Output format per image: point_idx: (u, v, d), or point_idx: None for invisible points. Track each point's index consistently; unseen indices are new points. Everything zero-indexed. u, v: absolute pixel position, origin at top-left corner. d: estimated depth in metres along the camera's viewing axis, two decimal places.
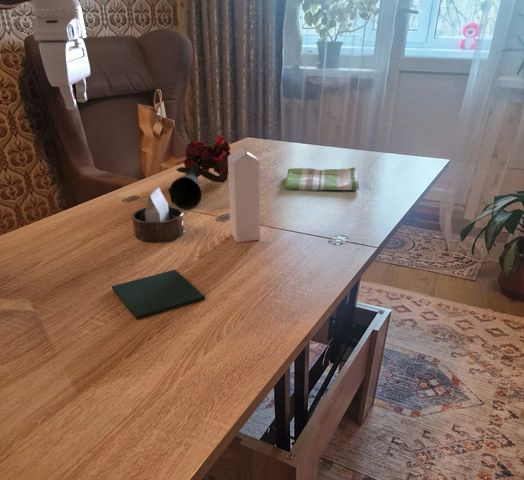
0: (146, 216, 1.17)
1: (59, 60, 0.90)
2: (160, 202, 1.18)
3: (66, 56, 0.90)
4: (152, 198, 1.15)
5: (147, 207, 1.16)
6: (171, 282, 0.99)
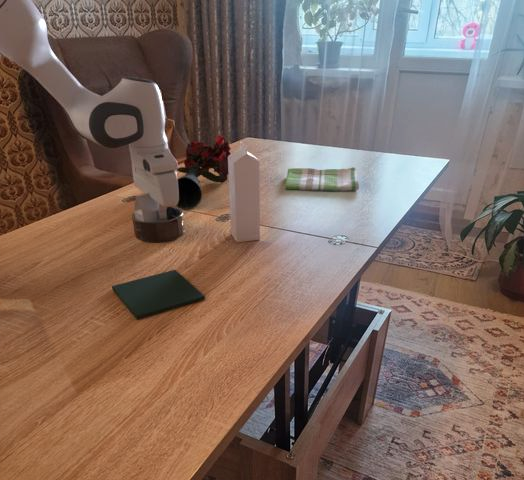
0: (135, 216, 1.17)
1: (173, 186, 1.08)
2: (152, 204, 1.16)
3: None
4: (139, 199, 1.14)
5: (136, 207, 1.16)
6: (171, 282, 0.99)
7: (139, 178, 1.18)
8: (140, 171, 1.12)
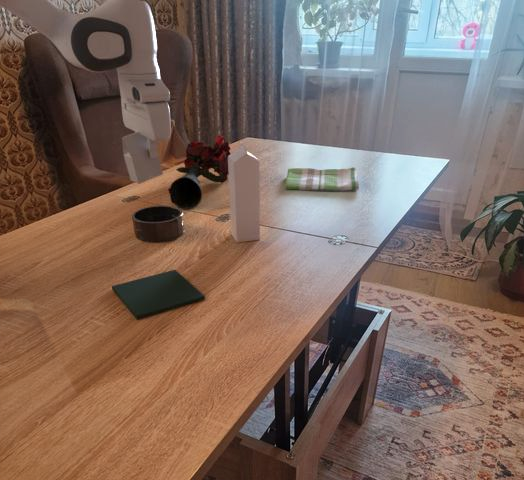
0: (125, 159, 1.10)
1: (165, 118, 1.00)
2: (141, 145, 1.08)
3: (169, 114, 1.01)
4: (126, 141, 1.06)
5: (124, 150, 1.08)
6: (171, 282, 0.99)
7: (129, 115, 1.09)
8: (129, 103, 1.03)
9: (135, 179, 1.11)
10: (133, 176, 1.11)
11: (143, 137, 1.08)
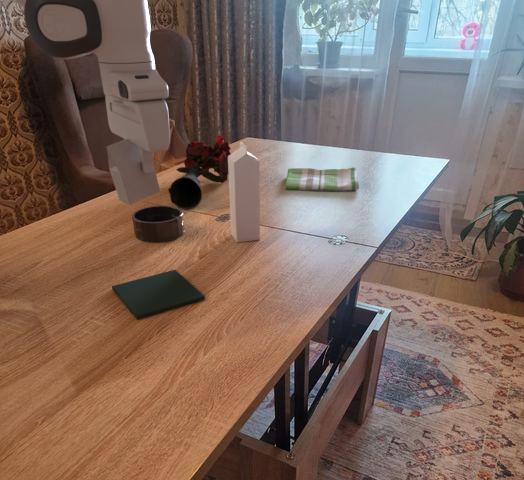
0: (111, 174, 0.86)
1: (162, 122, 0.76)
2: (132, 156, 0.84)
3: None
4: (112, 151, 0.82)
5: (110, 162, 0.84)
6: (171, 282, 0.99)
7: (116, 117, 0.85)
8: (116, 102, 0.79)
9: (124, 200, 0.87)
10: (122, 195, 0.87)
11: (134, 146, 0.84)
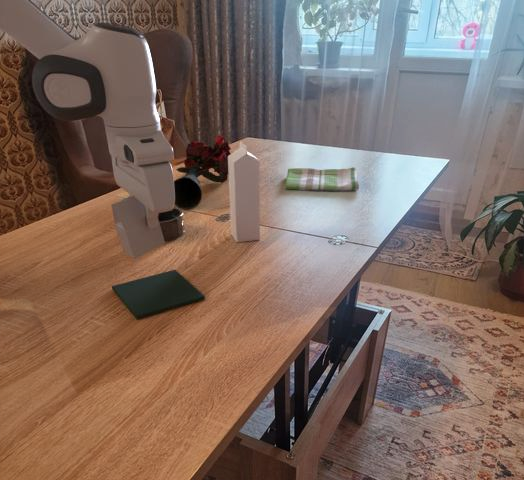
0: (117, 229, 0.86)
1: (167, 184, 0.76)
2: (137, 212, 0.84)
3: None
4: (118, 208, 0.82)
5: (115, 218, 0.84)
6: (171, 282, 0.99)
7: (121, 173, 0.85)
8: (121, 162, 0.80)
9: (129, 253, 0.88)
10: (127, 249, 0.87)
11: (139, 202, 0.84)
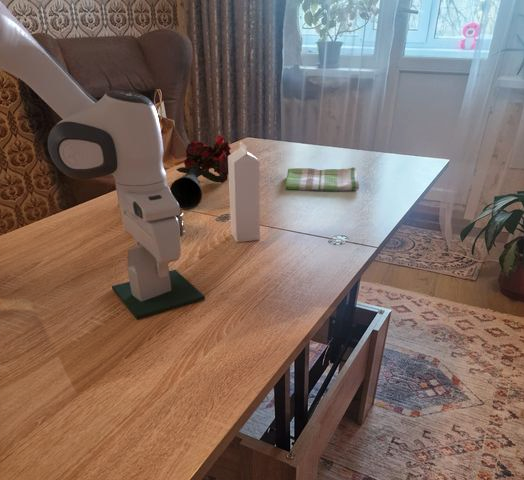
0: (128, 272, 0.92)
1: (174, 237, 0.81)
2: (150, 259, 0.90)
3: None
4: (133, 254, 0.88)
5: (129, 262, 0.90)
6: (171, 282, 0.99)
7: (129, 221, 0.91)
8: (130, 215, 0.85)
9: (137, 296, 0.93)
10: (135, 291, 0.93)
11: None
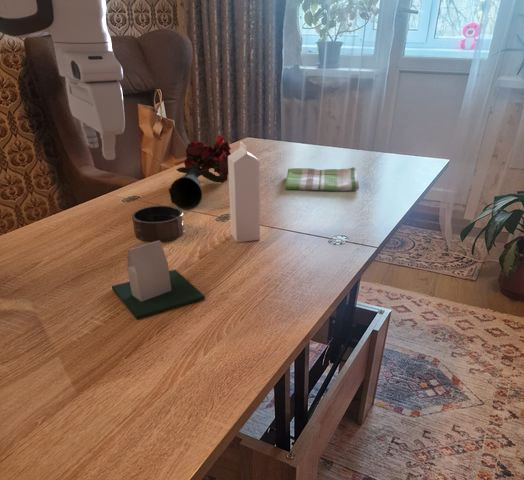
0: (128, 272, 0.92)
1: (116, 104, 0.74)
2: (150, 259, 0.90)
3: (122, 99, 0.75)
4: (133, 254, 0.88)
5: (129, 262, 0.90)
6: (171, 282, 0.99)
7: (74, 100, 0.84)
8: (71, 84, 0.78)
9: (137, 296, 0.93)
10: (135, 291, 0.93)
11: (153, 250, 0.91)
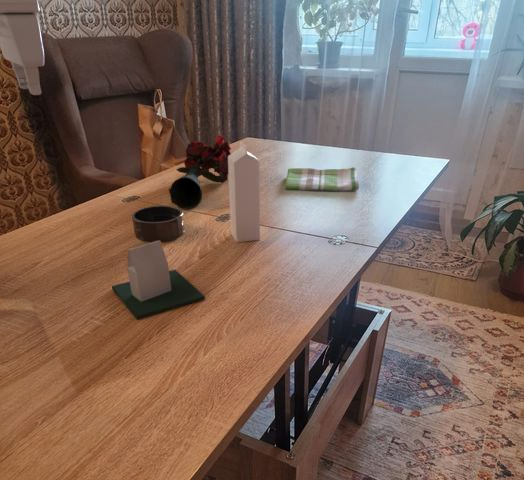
0: (128, 272, 0.92)
1: (33, 35, 0.79)
2: (150, 259, 0.90)
3: None
4: (133, 254, 0.88)
5: (129, 262, 0.90)
6: (171, 282, 0.99)
7: (2, 40, 0.88)
8: None
9: (137, 296, 0.93)
10: (135, 291, 0.93)
11: (153, 250, 0.91)
